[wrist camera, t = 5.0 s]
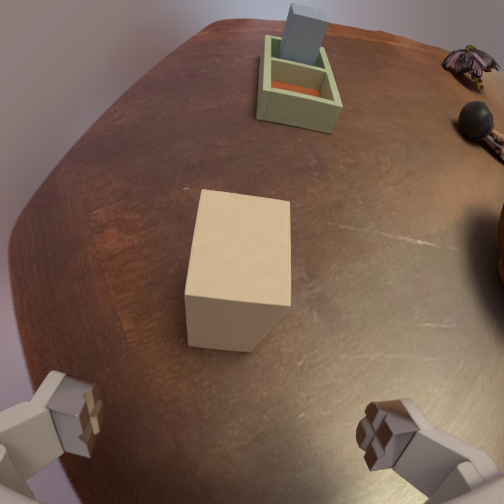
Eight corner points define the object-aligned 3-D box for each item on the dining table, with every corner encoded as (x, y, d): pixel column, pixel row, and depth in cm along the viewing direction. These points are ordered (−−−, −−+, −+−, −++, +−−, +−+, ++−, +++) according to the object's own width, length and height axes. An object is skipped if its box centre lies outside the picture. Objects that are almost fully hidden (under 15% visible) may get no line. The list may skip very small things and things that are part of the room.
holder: (255, 119, 31) (262, 89, 28) (260, 57, 38) (265, 34, 35) (330, 134, 32) (343, 107, 29) (316, 69, 39) (323, 47, 36)
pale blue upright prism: (276, 76, 35) (293, 13, 27) (275, 59, 37) (291, 2, 30) (307, 83, 35) (328, 22, 28) (304, 66, 38) (322, 10, 30)
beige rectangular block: (188, 346, 19) (184, 294, 12) (196, 274, 22) (201, 188, 14) (251, 352, 20) (291, 306, 12) (255, 281, 22) (290, 201, 14)
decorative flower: (468, 38, 55) (511, 58, 45) (465, 75, 63) (506, 98, 53) (434, 37, 54) (481, 56, 44) (433, 78, 62) (475, 102, 52)
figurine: (474, 84, 36) (538, 149, 37) (451, 105, 42) (514, 163, 43) (477, 113, 34) (542, 180, 35) (451, 134, 40) (516, 193, 41)
